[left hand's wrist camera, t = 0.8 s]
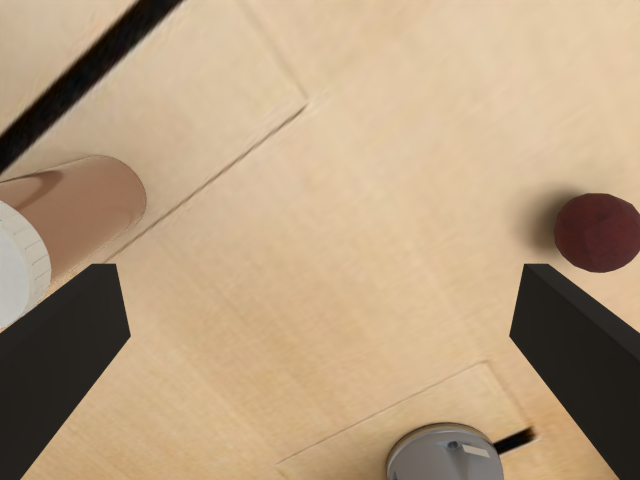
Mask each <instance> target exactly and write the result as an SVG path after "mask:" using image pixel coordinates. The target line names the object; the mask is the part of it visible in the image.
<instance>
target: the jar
mask: <svg viewBox="0 0 640 480" xmlns="http://www.w3.org/2000/svg"><path fill="white" fill-rule="evenodd" d="M0 201H3V202H4V203H6V204H7V205H9V206H10V207H12V208H13V209H15V210H16V211H17V212H19V213H20V214H21V215H22V216H23V217H24V218H25V219H26V220H27V221H28V222H29V223H30V224H31V225H32V226H33V227H34V229H35V230H36V231H37V232H38V234H39V236H40V237H41V239H42V240H43V242H44V245H45V247H46V249H47V252H48V254H49V258H50V264H51V269H52V271H51V279H50V285H49V287H50V286H51V285H53V284H54V283H55V282H57V281H58V280H60V279H61V278H62V277H64V276H65V275H67V274H68V273H69V272H71V271H72V270H73V269H75V268H76V267H78V266H79V265H80V264H82V263H83V262H84V261H86V260H87V259H89V258H90V257H91V256H93V255H94V254H96V253H97V252H98V251H100V250H101V249H102V248H104V247H105V246H107V245H108V244H109V243H111V242H112V241H113V240H115V239H116V238H118V237H119V236H120V235H122V234H123V233H125V232H126V231H127V230H129V229H130V228H131V227H133V226H134V225H136V224H137V223H138V222H139V220H140V219H141V218H142V216H143V214H144V211H145V207H146V194H145V190H144V187H143V185H142V183H141V181H140V179H139V178H138V176H137V175H136V174H135V172H134V171H133V170H132V169H131V168H130V167H128V166H127V165H126V164H124V163H122V162H121V161H119V160H117V159H114V158H111V157H107V156H91V157H87V158H83V159H80V160H76V161H73V162H69V163H66V164H62V165H59V166H55V167H52V168H48V169H45V170H41V171H37V172H34V173H30V174H27V175H23V176H20V177H16V178H13V179H9V180H6V181H2V182H0ZM49 287H48V288H49Z"/></svg>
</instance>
